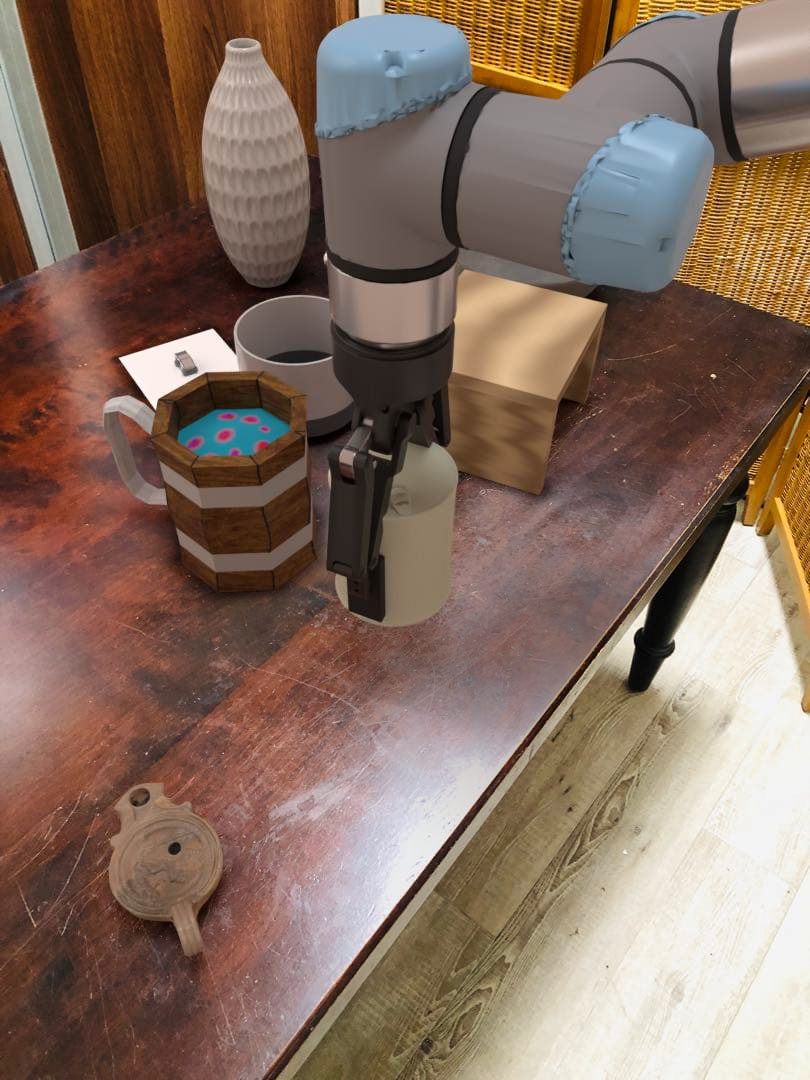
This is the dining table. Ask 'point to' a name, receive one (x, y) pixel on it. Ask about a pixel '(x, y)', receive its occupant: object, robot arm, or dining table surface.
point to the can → (416, 537)
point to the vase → (255, 168)
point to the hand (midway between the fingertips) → (393, 569)
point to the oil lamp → (164, 861)
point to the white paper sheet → (179, 363)
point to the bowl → (521, 273)
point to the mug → (228, 475)
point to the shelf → (516, 374)
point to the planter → (296, 355)
